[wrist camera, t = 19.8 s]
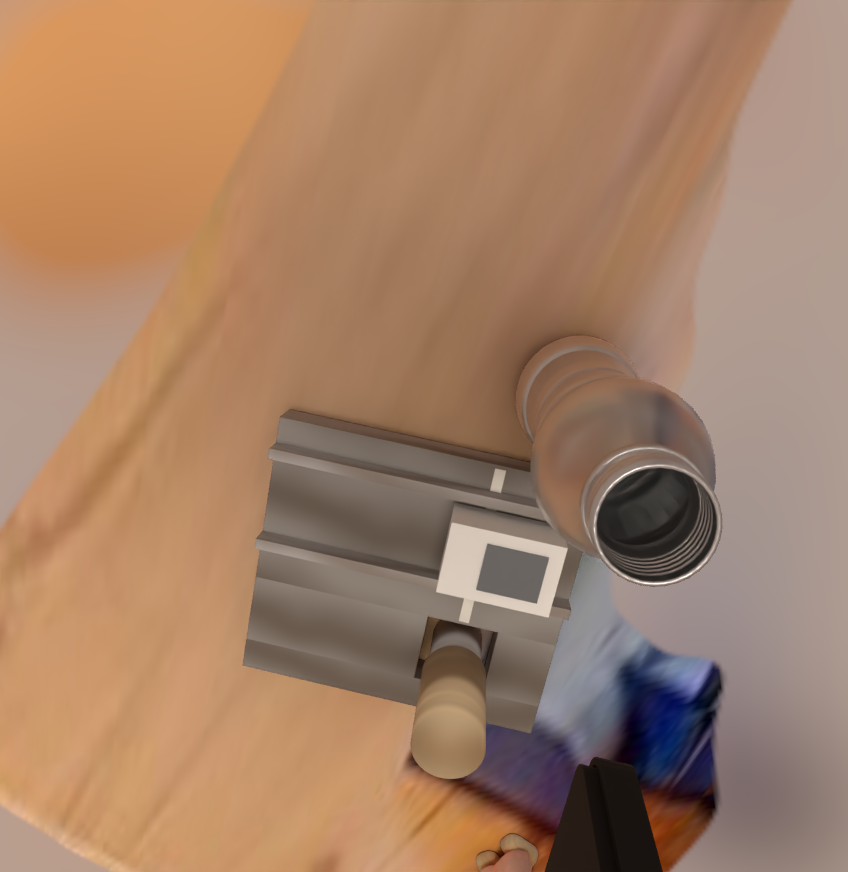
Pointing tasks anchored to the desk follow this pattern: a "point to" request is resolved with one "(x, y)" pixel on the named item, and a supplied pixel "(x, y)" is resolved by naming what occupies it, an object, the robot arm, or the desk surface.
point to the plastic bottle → (619, 462)
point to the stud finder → (501, 560)
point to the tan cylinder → (451, 704)
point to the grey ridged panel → (386, 564)
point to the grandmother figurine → (509, 856)
